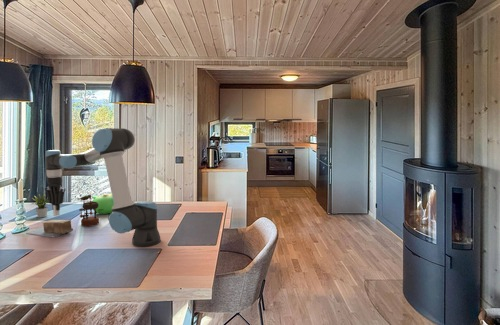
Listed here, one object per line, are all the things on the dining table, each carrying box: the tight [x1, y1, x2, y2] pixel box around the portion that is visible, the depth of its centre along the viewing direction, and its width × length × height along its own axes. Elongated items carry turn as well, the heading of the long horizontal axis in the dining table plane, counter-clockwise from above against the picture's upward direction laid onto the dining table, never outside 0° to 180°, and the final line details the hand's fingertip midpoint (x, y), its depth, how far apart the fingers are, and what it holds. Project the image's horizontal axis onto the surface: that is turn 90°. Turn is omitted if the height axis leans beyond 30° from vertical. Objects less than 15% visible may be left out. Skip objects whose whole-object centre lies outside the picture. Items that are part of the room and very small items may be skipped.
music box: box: [76, 194, 104, 227], centre depth 201 cm, size 15×11×20 cm
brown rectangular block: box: [42, 219, 73, 234], centre depth 184 cm, size 6×6×14 cm
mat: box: [26, 226, 74, 238], centre depth 186 cm, size 20×14×1 cm
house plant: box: [31, 193, 49, 218], centre depth 213 cm, size 14×14×16 cm
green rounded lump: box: [91, 192, 114, 215], centre depth 225 cm, size 18×17×15 cm
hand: (56, 215), depth 183 cm, fingers closed
